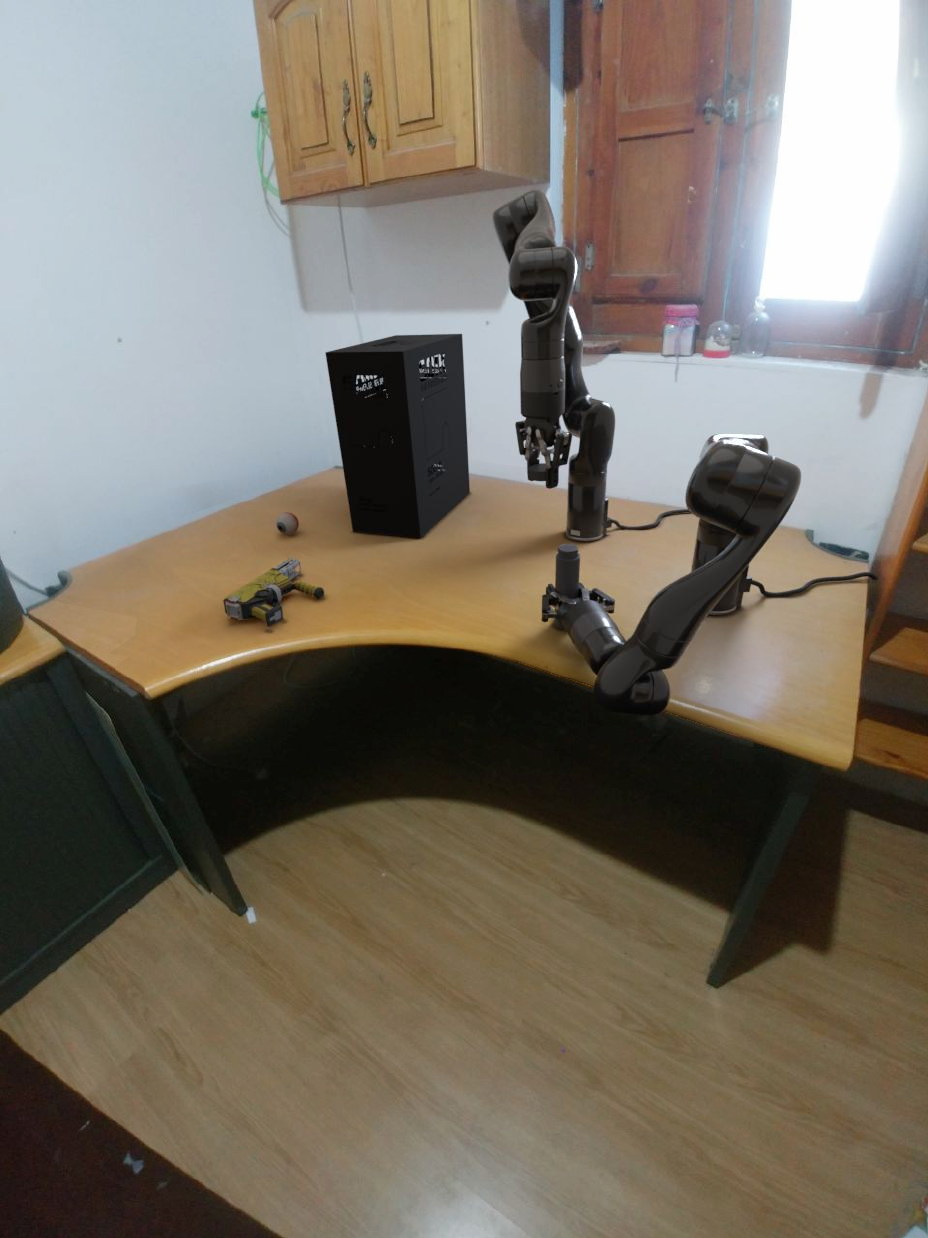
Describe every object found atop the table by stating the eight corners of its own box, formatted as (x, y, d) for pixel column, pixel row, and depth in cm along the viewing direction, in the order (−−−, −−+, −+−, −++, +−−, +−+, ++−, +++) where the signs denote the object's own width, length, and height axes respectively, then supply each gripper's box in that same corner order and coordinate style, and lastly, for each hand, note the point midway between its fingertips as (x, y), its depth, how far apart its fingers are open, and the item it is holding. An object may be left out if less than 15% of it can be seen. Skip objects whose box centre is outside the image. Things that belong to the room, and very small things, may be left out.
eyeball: (273, 537, 164) (268, 516, 161) (287, 528, 169) (282, 508, 166) (291, 539, 161) (286, 518, 158) (305, 530, 166) (301, 510, 163)
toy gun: (343, 567, 137) (286, 555, 141) (282, 613, 117) (218, 598, 121) (344, 585, 139) (288, 574, 143) (284, 634, 119) (221, 619, 123)
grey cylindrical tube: (557, 617, 119) (559, 541, 111) (579, 620, 117) (583, 544, 109) (551, 627, 116) (553, 551, 108) (573, 631, 114) (577, 553, 106)
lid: (559, 479, 108) (559, 470, 107) (531, 482, 108) (531, 472, 107) (553, 471, 112) (553, 462, 111) (526, 474, 112) (526, 464, 111)
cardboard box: (410, 488, 194) (395, 335, 172) (469, 492, 188) (462, 333, 165) (352, 531, 164) (325, 352, 142) (420, 538, 158) (403, 351, 135)
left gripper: (500, 384, 106) (504, 478, 115) (550, 394, 95) (549, 498, 104) (535, 378, 109) (536, 470, 118) (587, 387, 98) (583, 488, 107)
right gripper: (635, 606, 100) (599, 564, 114) (551, 617, 98) (525, 573, 113) (631, 644, 103) (596, 599, 118) (551, 655, 102) (525, 608, 117)
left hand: (542, 483), depth 110 cm, fingers closed on lid, 5 cm apart
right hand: (562, 586), depth 115 cm, fingers closed on grey cylindrical tube, 4 cm apart
